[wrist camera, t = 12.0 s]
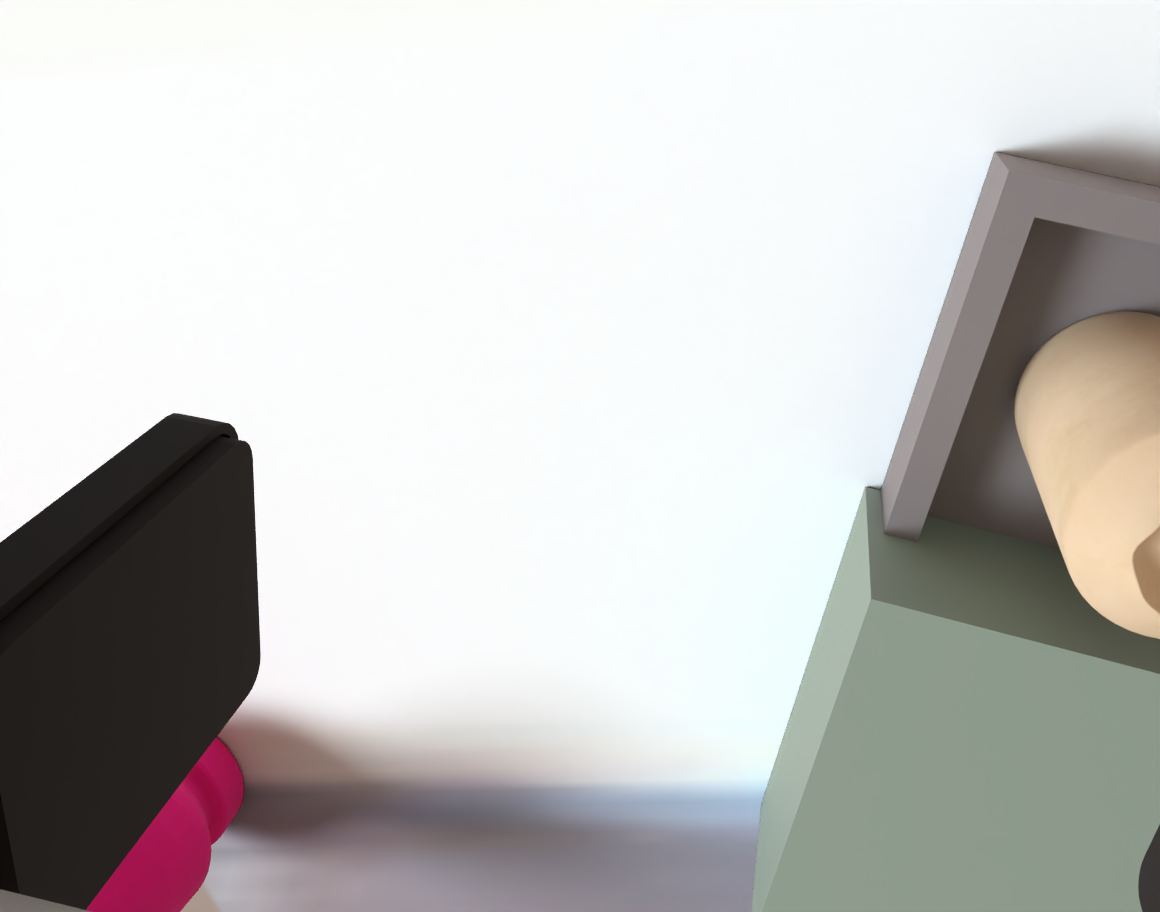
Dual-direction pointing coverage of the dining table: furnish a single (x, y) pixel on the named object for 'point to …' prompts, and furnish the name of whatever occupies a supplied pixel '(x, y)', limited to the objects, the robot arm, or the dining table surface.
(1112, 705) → the green boxy piece
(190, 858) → the pepper mill
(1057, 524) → the candle
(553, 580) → the dining table surface
